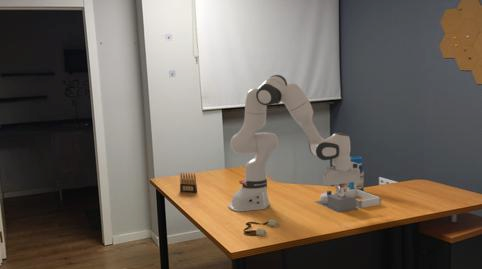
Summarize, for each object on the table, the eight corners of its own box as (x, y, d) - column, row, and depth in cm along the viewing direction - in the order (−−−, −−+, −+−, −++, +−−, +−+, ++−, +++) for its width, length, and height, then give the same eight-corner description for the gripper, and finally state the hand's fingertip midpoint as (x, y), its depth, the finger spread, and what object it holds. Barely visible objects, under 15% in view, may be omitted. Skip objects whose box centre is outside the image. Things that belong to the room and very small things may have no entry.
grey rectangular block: (338, 215, 228) (338, 200, 227) (314, 204, 248) (314, 190, 247) (358, 211, 233) (358, 197, 232) (333, 201, 253) (333, 187, 252)
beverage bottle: (352, 188, 277) (352, 155, 274) (366, 190, 272) (366, 156, 269) (346, 192, 270) (346, 158, 267) (360, 193, 265) (360, 159, 262)
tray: (360, 210, 235) (360, 201, 234) (336, 201, 253) (336, 192, 252) (380, 207, 240) (380, 197, 239) (356, 197, 258) (356, 189, 257)
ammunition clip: (180, 192, 284) (179, 172, 282) (181, 191, 285) (180, 172, 284) (196, 193, 280) (195, 173, 279) (197, 192, 282) (196, 172, 280)
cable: (233, 233, 210) (233, 226, 210) (249, 222, 224) (249, 215, 224) (265, 238, 203) (265, 230, 203) (279, 226, 218) (279, 219, 217)
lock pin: (341, 208, 234) (341, 184, 233) (338, 207, 237) (338, 183, 235) (345, 207, 235) (344, 183, 234) (342, 206, 237) (342, 182, 236)
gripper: (327, 168, 226) (327, 196, 228) (361, 163, 234) (361, 190, 236) (320, 166, 232) (320, 193, 234) (354, 161, 240) (354, 188, 242)
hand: (341, 192), depth 235 cm, fingers closed on lock pin, 2 cm apart
